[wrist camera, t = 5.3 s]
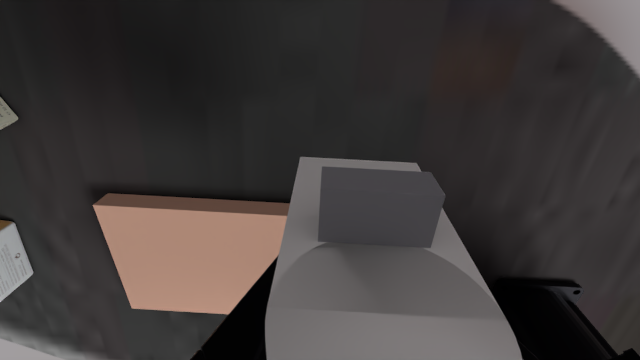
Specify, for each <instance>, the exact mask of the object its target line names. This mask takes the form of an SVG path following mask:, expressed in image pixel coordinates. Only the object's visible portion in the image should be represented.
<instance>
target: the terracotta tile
mask: <svg viewBox="0 0 640 360" xmlns="http://www.w3.org/2000/svg"><path fill="white" fill-rule="evenodd" d="M289 206H290V203H274V202H256V201H238V200H220V199H202V198H184V197H167V196H149V195H131V194H113V193H108V194H106V195H105V196H104V197H102V198H101V199H100V200H99V201H97V202H96V203H95V204H94V205H93V207H94V209H95V212H96V215H97V217H98V220H99V223H100V225H101V228H102V231H103V233H104V236H105V239H106V241H107V244H108V246H109V249H110V252H111V254H112V257H113V260H114V262H115V265H116V268H117V270H118V273H119V275H120V278H121V281H122V283H123V286H124V289H125V291H126V294H127V297H128V299H129V302H130V304H131V307H132V308H133V309H150V310H166V311H183V312H200V313H217V314H229V313H230V312H231V311H232V310H233V308H234V307H235V306H236V305H237V304H238V302H239V301H240V300H241V299H242V298H243V297H244V295H245V294H246V293H247V292H248V291H249V289H250V288H251V287H252V286H253V285H254V283H255V282H256V281H257V280H258V279H259V278H260V276H261V275H262V274H263V273H264V272H265V270H266V269H267V268H268V267H269V266H270V264H271V263H272V262H273V261H274V260H275V259H276V257H277V256H278V255H279V251H280V247H281V242H282V238H283V233H284V229H285V224H286V220H287V215H288V211H289Z"/></svg>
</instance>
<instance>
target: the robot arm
mask: <svg viewBox="0 0 640 360" xmlns="http://www.w3.org/2000/svg"><path fill="white" fill-rule="evenodd" d="M278 256H279V255H278ZM278 256H277V257H276V259H275V260H274V261H273V262H272V263H271V264H270V266H269V267H268V268H267V269H266V270H265V272H264V273H263V274H262V275H261V276H260V278H259V279H258V280H257V281H256V282H255V283H254V285H253V286H252V287H251V288H250V289H249V291H248V292H247V293H246V294H245V295H244V297H243V298H242V299H241V300H240V301H239V302H238V304H237V305H236V306H235V307H234V308H233V310H232V311H231V312H230V313H229V314H228V316H227V317H226V318H225V319H224V320H223V321H222V323H221V324H220V325H219V326H218V327H217V329H216V330H215V331H214V332H213V333H212V334H211V336H210V337H209V338H208V339H207V340H206V342H205V343H204V344H203V345H202V346H201V350H198V351H197V352H196V353H195V354H194V356H193V357H192V358H191V359H190V360H267V356H266V342H265V318H266V311H267V305H268V300H269V296H270V291H271V287H272V282H273V278H274V274H275V269H276V265H277V260H278ZM583 292H584V289H583V288H582V287H581V286H580V285H579V284H575V283H558V282H541V281H523V280H506V279H503V280H499V281H497V282H496V284H495V286H494V288H493V290H492V295H493V297H494V298H495V300H496V302H497V304H498V305H499V307H500V309H501V311H502V312H503V314H504V316H505V318H506V319H507V321H508V323H509V325H510V327H511V329H512V331H513V333H514V335H515V337H516V340H517V343H518V346H519V348H520V351H521V355H522V360H640V356H639V355H638V354H637V353H636V352H635V351H634V350H633V348H631V349H628V350H626V351H623V352H624V353H623V354H621V355H618V354H617V353H616V352H615V351H614V350H613V349H612V347H611V346H610V345H609V344H608V343H607V341H606V340H605V339H604V338H603V337H602V336H601V334H600V333H599V332H598V331H597V330H596V328H595V327H594V326H593V325H592V324H591V323H590V321H589V320H588V319H587V318H586V317H585V315H584V314H583V313H582V312H581V311H580V310H579V308H578V307H577V306H576V305H575V304H576V303H577V301H578V300H579V298H580V297H581V295H582V294H583Z"/></svg>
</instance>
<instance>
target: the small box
mask: <svg viewBox="0 0 640 360" xmlns="http://www.w3.org/2000/svg"><path fill="white" fill-rule="evenodd" d="M32 274H33V270H32V267H31V265H30V262H29V259H28V257H27V254H26V251H25V249H24V246H23V243H22V241H21V238H20V235H19V233H18V230H17V227H16V225H15V223H14V222H11V221H4V220H0V302H1V301H2V300H3V299H4V298H6V297H7V296H8V295H9V294H10V293H12V292H13V291H14V290H15V289H16V288H17V287H19V286H20V285H21V284H22V283H23V282H24V281H26V280H27V279H28V278H29V277H30V276H31V275H32Z"/></svg>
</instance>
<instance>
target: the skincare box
mask: <svg viewBox="0 0 640 360" xmlns="http://www.w3.org/2000/svg"><path fill="white" fill-rule="evenodd" d="M17 120H18V117H17V116H16V114H15V113H14V112H13V111H12V110H11V109H10V107H9V106H8V105H7V104H6V103H5V102H4V100H3V99H2V98H1V97H0V130H1V129H3V128H5V127H6V126H8V125H10V124H12V123H13V122H15V121H17Z"/></svg>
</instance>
